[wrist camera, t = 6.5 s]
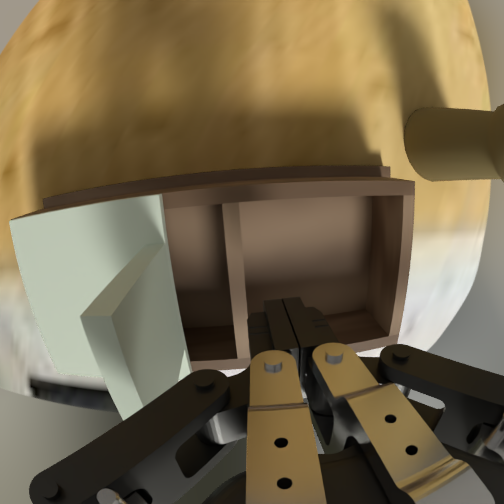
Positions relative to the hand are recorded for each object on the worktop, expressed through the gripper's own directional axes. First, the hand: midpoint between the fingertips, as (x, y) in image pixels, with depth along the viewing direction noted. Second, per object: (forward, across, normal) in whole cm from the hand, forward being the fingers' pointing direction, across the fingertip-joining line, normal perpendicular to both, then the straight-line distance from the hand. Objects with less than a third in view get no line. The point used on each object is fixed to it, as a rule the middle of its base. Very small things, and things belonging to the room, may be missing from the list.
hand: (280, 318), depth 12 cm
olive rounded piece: (+9, -14, -8) cm, 18 cm away
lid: (+3, +10, 0) cm, 10 cm away
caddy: (+8, +3, 0) cm, 9 cm away
